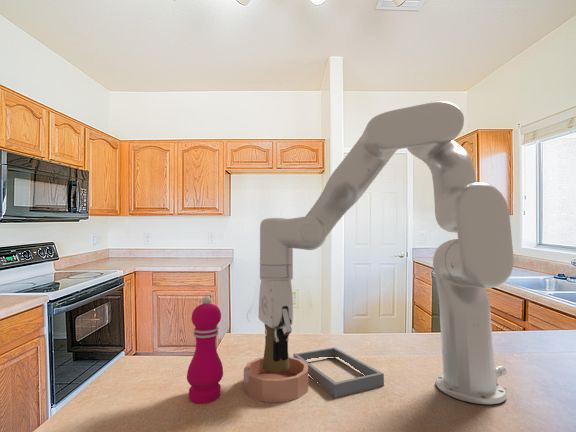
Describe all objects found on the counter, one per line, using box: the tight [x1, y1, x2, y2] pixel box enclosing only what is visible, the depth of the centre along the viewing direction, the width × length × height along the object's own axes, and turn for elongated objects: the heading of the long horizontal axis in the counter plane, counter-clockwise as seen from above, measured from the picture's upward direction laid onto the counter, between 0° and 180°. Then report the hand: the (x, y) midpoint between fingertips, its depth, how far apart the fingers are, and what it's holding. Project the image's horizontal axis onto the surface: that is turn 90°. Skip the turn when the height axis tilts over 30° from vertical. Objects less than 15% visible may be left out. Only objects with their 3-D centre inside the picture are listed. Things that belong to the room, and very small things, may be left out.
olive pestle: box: [262, 323, 290, 372], centre depth 67 cm, size 6×6×11 cm
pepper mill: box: [186, 295, 224, 405], centre depth 62 cm, size 7×7×20 cm
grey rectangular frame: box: [292, 346, 385, 398], centre depth 72 cm, size 13×20×2 cm, turn 24°
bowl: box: [243, 355, 309, 403], centre depth 66 cm, size 14×14×4 cm
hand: (276, 355), depth 66 cm, fingers closed on olive pestle, 4 cm apart
